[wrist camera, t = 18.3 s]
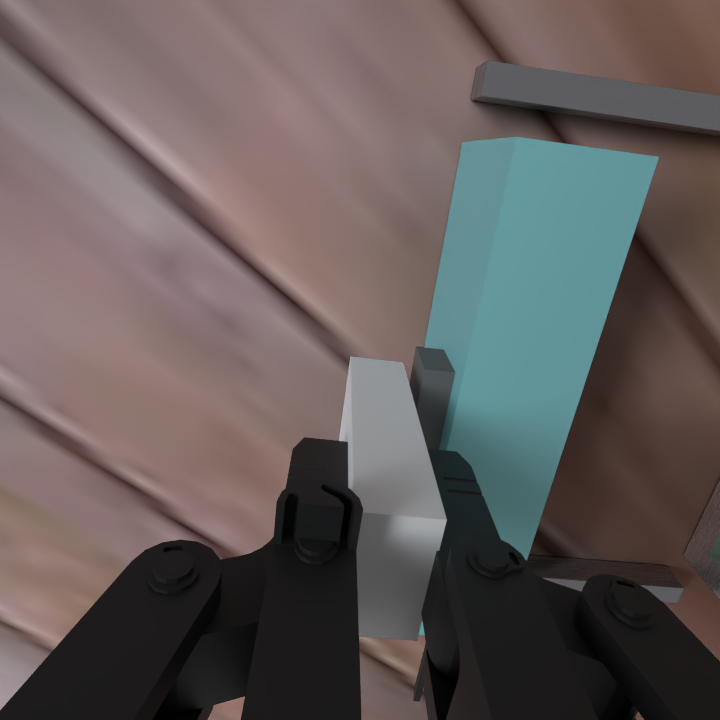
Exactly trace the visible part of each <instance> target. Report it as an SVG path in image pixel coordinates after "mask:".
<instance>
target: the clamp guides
mask: <svg viewBox="0 0 720 720" xmlns="http://www.w3.org/2000/svg"><path fill="white" fill-rule="evenodd" d="M470 100H473V101H480V102H487V103H494V104H501V105H508V106H515V107H521V108H528V109H535V110H542V111H549V112H556V113H562V114H569V115H576V116H583V117H590V118H597V119H603V120H610V121H617V122H624V123H631V124H638V125H644V126H651V127H658V128H665V129H672V130H679V131H685V132H692V133H699V134H706V135H713V136H720V96H716V95H710V94H703V93H697V92H690V91H684V90H677V89H671V88H664V87H657V86H651V85H644V84H638V83H631V82H625V81H618V80H612V79H605V78H598V77H592V76H585V75H579V74H572V73H566V72H559V71H553V70H546V69H540V68H533V67H526V66H520V65H513V64H507V63H500V62H494V61H486V62H485V63H483V64H482V65H480V66H478V67H477V68H476V72H475V77H474V83H473V88H472V93H471V99H470ZM527 562H528V564H529V565H530V568H531V570H532V572H533V574H535V575H536V576H539V577H541V578H544V579H546V580H548V581H551V582H554V583H557V584H560V585H563V586H566V587H569V588H572V589H575V590H578V591H581V592H582V589H583V587H584V585H585V583H586V582H587V580H588V578H590V577H593V576H595V575H598V574H609V575H616V576H619V577H622V578H626V579H629V580H631V581H633V582H635V583H637V584H638V585H640V586H642V587H644V588H646V589H647V590H649V591H650V592H651V593H652V594H653V595H655V596H656V597H657V598H658V599H659V600H661V601H662V602H669V603H677V602H678V600H679V598H680V596H681V594H682V592H683V590H684V587H683V586H682V585H681V583H680V582H679V581H678V580H677V578H676V577H675V576H674V574H673V573H672V572H671V571H670V569H669V568H668V567H667V566H664V565H652V564H639V563H626V562H613V561H600V560H588V559H575V558H562V557H549V556H537V555H529V556H528V559H527Z"/></svg>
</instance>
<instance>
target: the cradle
mask: <svg viewBox="0 0 720 720" xmlns="http://www.w3.org/2000/svg"><path fill="white" fill-rule="evenodd" d="M683 556H684V558H685V559H686V560H687V561H688V562H689V563H690V565H691V566H692V567H693V568H694V569H695V571H696V572H697V573H698V574H699V575H700V577H701V578H702V579H703V580H704V581H705V583H706V584H707V585H708V586H709V587H710V588H711V590H712V591H713V592H714V593H715V594H716V596H717V597H718V598H719V599H720V480H719V482H718V484H717V486H716V488H715V490H714V492H713V494H712V496H711V498H710V500H709V502H708V505H707V507H706V509H705V511H704V513H703V515H702V517H701V519H700V521H699V523H698V525H697V527H696V530H695V532H694V534H693V536H692V538H691V540H690V542H689V544H688V546H687V548H686V550H685V552H684V555H683Z"/></svg>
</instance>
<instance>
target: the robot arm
mask: <svg viewBox="0 0 720 720" xmlns="http://www.w3.org/2000/svg"><path fill="white" fill-rule="evenodd" d="M422 621H423V627H424V633H425V639H426V645H425V649H424V652H423V656H422V660H421V664H420V668H419V672H418V676H417V679H416V683H415V687H414V699H413V701H420V698H421V695H422V691H423V687H424V693H425V700H426V707H427V714H428V720H636V719H635V716H636V715H637V713H638V712H639V713H640V714H641V716H642V717H643V718H644V720H720V661H719V660H718V659H717V658H716V657H715V656H714V655H713V654H712V653H711V652H710V651H709V650H708V649H707V648H706V647H705V646H704V645H703V644H702V642H701V641H700V640H699V639H698V638H697V637H696V636H695V635H694V634H693V633H692V632H691V631H690V630H689V629H688V628H687V627H686V626H685V625H684V624H683V623H682V622H681V621H680V620H679V619H678V618H677V617H676V616H675V614H674V613H673V612H672V611H671V610H670V609H669V608H668V607H667V606H666V605H665V604H664V603H663V602H662V601H661V600H659V599H658V598H657V597H656V596H655V595H653V594H652V593H651V592H650V591H649V590H647V589H646V588H644V587H642V586H640V585H638V584H637V583H635V582H633V581H631V580H629V579H626V578H622V577H619V576H616V575H609V574H598V575H595V576H593V577H590V578H588V580H587V582H586V583H585V585H584V587H583V589H582V592H581V591H578V590H575V589H572V588H569V587H566V586H563V585H560V584H557V583H554V582H551V581H548V580H546V579H544V578H541V577H539V576H536V575H535V574H533V572H532V570H531V568H530V565H529V564H528V562H527V561H526V560H525V558H524V557H523V555H522V554H521V553H520V552H519V551H518V550H516V549H515V548H514V547H513V546H511V545H510V544H509V543H507V542H505V541H503V540H501V538H500V536H499V534H498V531H497V529H496V526H495V524H494V521H493V519H492V516H491V514H490V511H489V509H488V506H487V504H486V501H485V499H484V496H482V491H481V489H480V486H479V484H478V483H477V479H476V477H475V474H474V472H473V469H472V467H471V465H470V464H469V463H468V462H467V461H466V460H465V459H464V458H463V457H462V456H461V455H460V454H459V453H458V452H457V451H447V450H437V449H428V448H427V446H426V443H425V439H424V436H423V432H422V428H421V425H420V421H419V418H418V414H417V410H416V407H415V403H414V400H413V396H412V392H411V389H410V385H409V382H408V378H407V374H406V371H405V367H404V364H403V362H394V361H386V360H377V359H368V358H360V357H350V364H349V371H348V378H347V386H346V393H345V400H344V407H343V415H342V422H341V429H340V436H339V441H334V440H324V439H315V438H305V437H304V438H303V439H302V440H301V441H300V442H299V443H298V444H297V445H296V446H295V447H294V448H293V451H292V457H291V462H290V468H289V473H288V479H287V484H286V489H285V490H283V491H282V492H281V494H280V496H279V498H278V500H277V506H276V517H275V529H274V537H273V538H272V539H271V541H270V542H268V543H267V544H266V545H265V546H263V547H262V548H260V549H258V550H256V551H254V552H252V553H249V554H246V555H242V556H238V557H233V558H227V559H221V560H220V558H219V557H218V556H217V555H216V553H215V552H214V551H213V550H212V549H211V548H210V547H208V546H205V545H203V544H201V543H199V542H196V541H187V540H176V541H169V542H163V543H160V544H158V545H156V546H153V547H151V548H149V549H146V550H145V551H144V552H142V553H141V554H140V555H139V556H138V557H136V558H135V559H134V560H133V561H132V562H131V563H130V564H129V565H128V566H127V567H126V568H125V570H124V571H123V572H122V573H121V574H120V575H119V576H118V577H117V579H116V580H115V581H114V582H113V583H112V584H111V585H110V587H109V588H108V589H107V590H106V591H105V592H104V593H103V595H102V596H101V597H100V598H99V599H98V600H97V601H96V602H95V604H94V605H93V606H92V607H91V608H90V609H89V610H88V612H87V613H86V614H85V615H84V616H83V617H82V618H81V619H80V621H79V622H78V623H77V624H76V625H75V626H74V627H73V629H72V630H71V631H70V632H69V633H68V634H67V635H66V636H65V638H64V639H63V640H62V641H61V642H60V643H59V644H58V646H57V647H56V648H55V649H54V650H53V651H52V652H51V654H50V655H49V656H48V657H47V658H46V659H45V660H44V661H43V663H42V664H41V665H40V666H39V667H38V668H37V669H36V671H35V672H34V673H33V674H32V675H31V676H30V677H29V678H28V680H27V681H26V682H25V683H24V684H23V685H22V686H21V688H20V689H19V690H18V691H17V692H16V693H15V694H14V695H13V697H12V698H11V699H10V700H9V701H8V702H7V703H6V705H5V706H4V707H3V708H2V709H1V710H0V720H207V719H208V717H209V715H210V713H211V711H212V709H213V706H214V705H215V704H219V703H222V702H226V701H230V700H233V699H237V698H240V697H244V696H245V700H244V705H243V711H242V716H241V720H361V690H360V657H359V637H372V638H385V639H399V640H413V641H417V638H418V634H419V630H420V626H421V622H422Z"/></svg>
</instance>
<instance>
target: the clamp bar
mask: <svg viewBox="0 0 720 720" xmlns="http://www.w3.org/2000/svg"><path fill="white" fill-rule="evenodd" d="M658 159H659V157H656V156H649V155H642V154H635V153H628V152H621V151H614V150H606V149H599V148H592V147H585V146H578V145H571V144H564V143H557V142H550V141H543V140H536V139H529V138H522V137H509V138H499V139H488V140H478V141H467V142H462V147H461V152H460V158H459V163H458V168H457V174H456V179H455V184H454V190H453V195H452V200H451V206H450V211H449V216H448V222H447V227H446V233H445V238H444V243H443V249H442V254H441V259H440V265H439V270H438V275H437V281H436V286H435V291H434V297H433V302H432V308H431V313H430V318H429V324H428V329H427V334H426V340H425V345H424V347H416V351H415V357H414V362H413V368H412V373H411V379H410V384H409V385H410V389H411V392H412V396H413V400H414V403H415V407H416V410H417V414H418V418H419V421H420V425H421V428H422V432H423V436H424V439H425V443H426V446H427V448H428V449H437V450H447V451H457V452H458V453H459V454H460V455H461V456H462V457H463V458H464V459H465V460H466V461H467V462H468V463H469V464H470V465H471V467H472V469H473V472H474V474H475V477H476V479H477V483H478V484H479V486H480V489H481V491H482V496H484V499H485V501H486V504H487V506H488V509H489V511H490V514H491V516H492V519H493V521H494V524H495V526H496V529H497V531H498V534H499V536H500V538H501V540H503V541H505V542H507V543H509V544H510V545H511V546H513V547H514V548H515V549H516V550H518V551H519V552H520V553H521V554H522V555H523V557H524V558H525V560H526V561H527V559H528V556H529V553H530V549H531V546H532V543H533V540H534V537H535V534H536V531H537V528H538V525H539V522H540V519H541V516H542V513H543V510H544V507H545V504H546V501H547V498H548V495H549V491H550V488H551V485H552V482H553V479H554V476H555V473H556V470H557V467H558V464H559V461H560V458H561V455H562V452H563V449H564V446H565V443H566V440H567V437H568V433H569V430H570V427H571V424H572V421H573V418H574V415H575V412H576V409H577V406H578V403H579V400H580V397H581V394H582V391H583V388H584V385H585V382H586V379H587V375H588V372H589V369H590V366H591V363H592V360H593V357H594V354H595V351H596V348H597V345H598V342H599V339H600V336H601V333H602V330H603V327H604V324H605V321H606V317H607V314H608V311H609V308H610V305H611V302H612V299H613V296H614V293H615V290H616V287H617V284H618V281H619V278H620V275H621V272H622V269H623V266H624V263H625V259H626V256H627V253H628V250H629V247H630V244H631V241H632V238H633V235H634V232H635V229H636V226H637V223H638V220H639V217H640V214H641V211H642V208H643V205H644V201H645V198H646V195H647V192H648V189H649V186H650V183H651V180H652V177H653V174H654V171H655V168H656V165H657V162H658ZM418 635H425V633H424V627H423V621H422V622H421V626H420V630H419V634H418Z"/></svg>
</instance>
